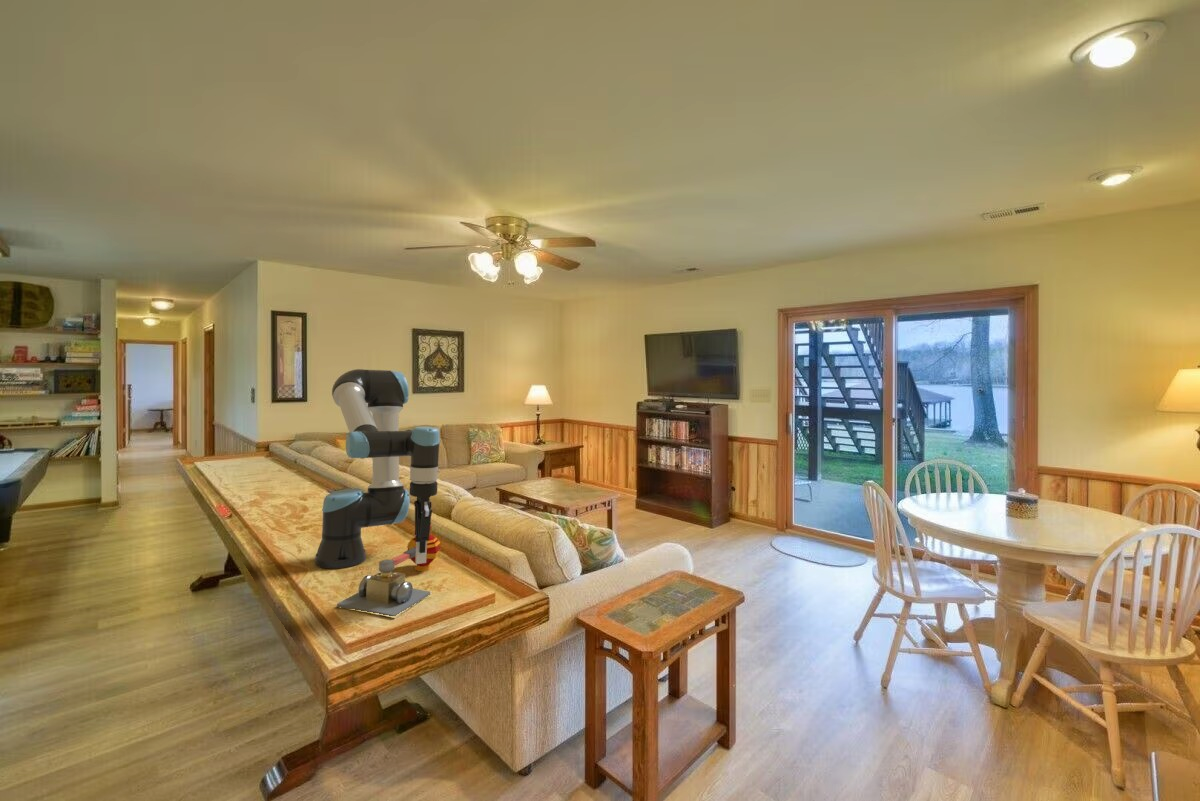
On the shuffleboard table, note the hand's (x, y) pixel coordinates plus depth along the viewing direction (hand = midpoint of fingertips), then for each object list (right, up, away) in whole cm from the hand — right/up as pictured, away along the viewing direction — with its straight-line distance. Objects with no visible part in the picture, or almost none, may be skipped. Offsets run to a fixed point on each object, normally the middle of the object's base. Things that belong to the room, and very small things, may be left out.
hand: (420, 562), depth 147 cm
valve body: (-9, -10, -4) cm, 13 cm away
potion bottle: (-7, -9, +22) cm, 24 cm away
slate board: (-9, -10, -4) cm, 13 cm away
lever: (-6, 0, +1) cm, 7 cm away
